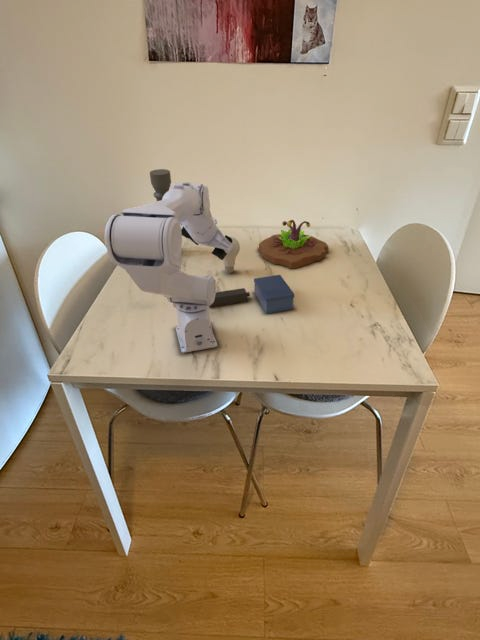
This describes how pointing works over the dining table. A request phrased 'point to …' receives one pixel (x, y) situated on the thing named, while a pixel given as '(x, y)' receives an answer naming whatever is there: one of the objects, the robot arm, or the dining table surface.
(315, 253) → the plant
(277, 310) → the blue box
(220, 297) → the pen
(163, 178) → the candle holder
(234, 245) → the lightbulb
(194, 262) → the dining table surface
